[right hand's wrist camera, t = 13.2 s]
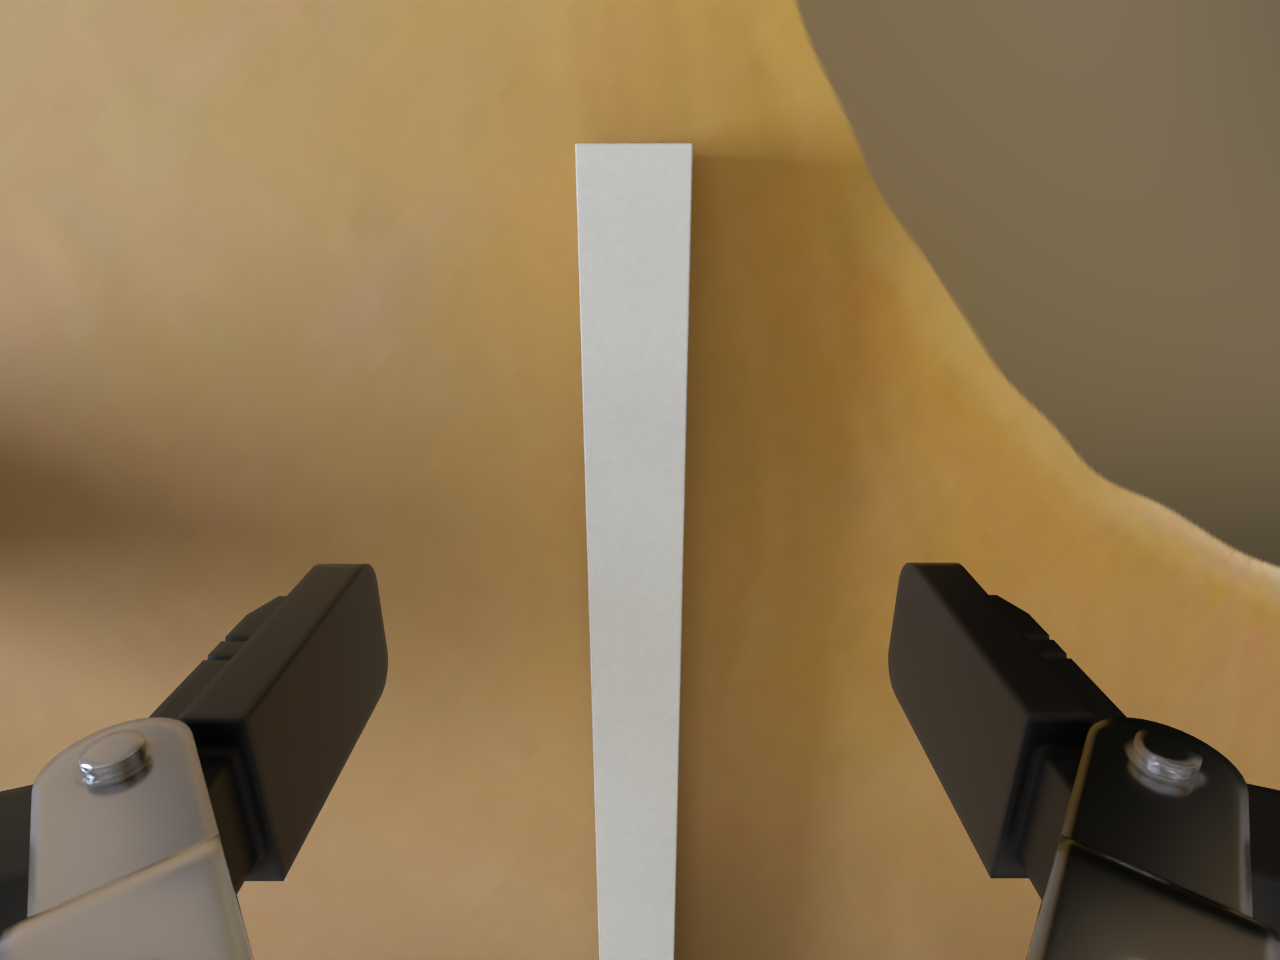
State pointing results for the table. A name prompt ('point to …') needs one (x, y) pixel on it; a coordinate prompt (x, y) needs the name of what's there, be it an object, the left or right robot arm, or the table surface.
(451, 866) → the table surface
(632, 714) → the bar
